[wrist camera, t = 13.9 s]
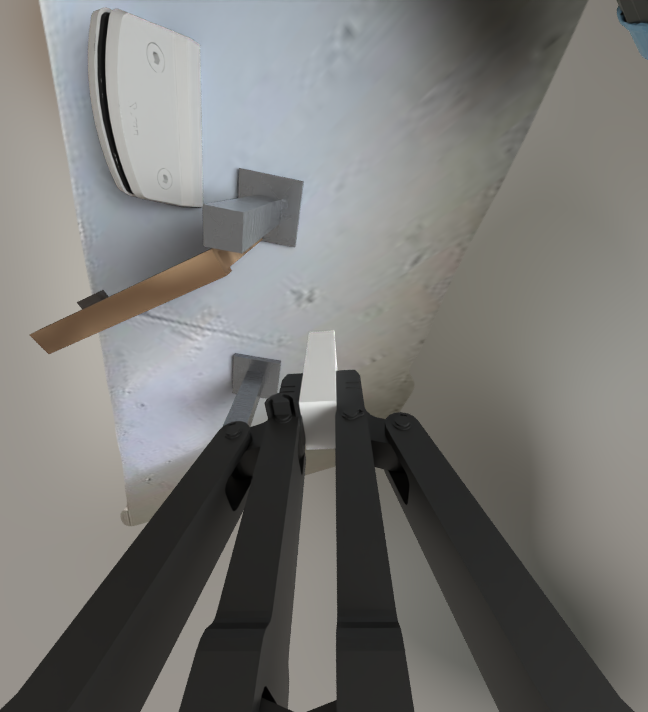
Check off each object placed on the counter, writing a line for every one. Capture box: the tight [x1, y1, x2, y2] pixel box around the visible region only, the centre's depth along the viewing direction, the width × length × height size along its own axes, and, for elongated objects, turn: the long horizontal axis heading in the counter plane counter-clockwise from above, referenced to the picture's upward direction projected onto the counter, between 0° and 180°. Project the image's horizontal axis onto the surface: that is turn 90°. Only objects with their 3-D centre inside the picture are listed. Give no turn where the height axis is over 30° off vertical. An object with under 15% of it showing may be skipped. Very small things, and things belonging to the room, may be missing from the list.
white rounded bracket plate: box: [88, 8, 203, 207], centre depth 32 cm, size 17×5×10 cm, turn 169°
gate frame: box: [203, 168, 304, 427], centre depth 38 cm, size 8×36×20 cm, turn 170°
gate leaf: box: [30, 238, 263, 354], centre depth 35 cm, size 3×22×17 cm, turn 113°
